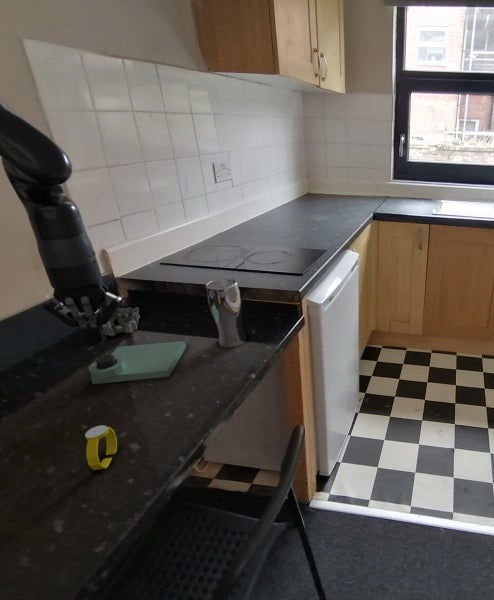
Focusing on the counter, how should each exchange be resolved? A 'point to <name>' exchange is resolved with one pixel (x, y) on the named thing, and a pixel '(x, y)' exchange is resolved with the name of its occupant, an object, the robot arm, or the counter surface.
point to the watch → (92, 446)
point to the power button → (105, 361)
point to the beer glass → (226, 311)
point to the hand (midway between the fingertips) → (98, 343)
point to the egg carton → (123, 321)
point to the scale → (139, 362)
